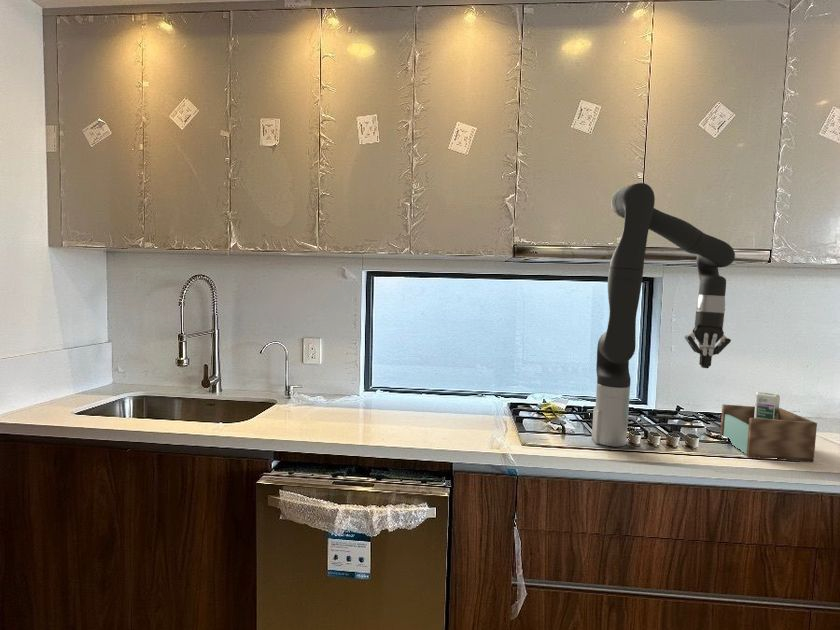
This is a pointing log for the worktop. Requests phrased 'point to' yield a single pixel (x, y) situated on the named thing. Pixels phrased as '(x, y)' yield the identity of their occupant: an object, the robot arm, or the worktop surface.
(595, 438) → the robot arm
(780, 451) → the wooden storage crate
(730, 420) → the mint green drawer
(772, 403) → the syrup box
